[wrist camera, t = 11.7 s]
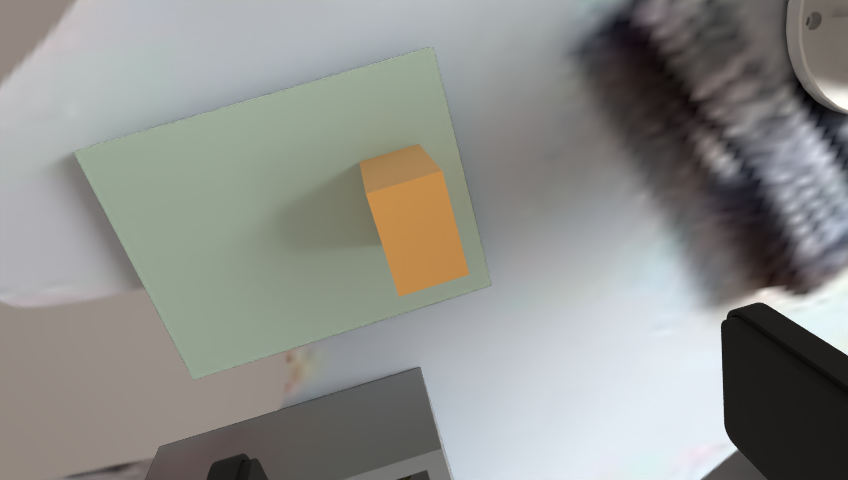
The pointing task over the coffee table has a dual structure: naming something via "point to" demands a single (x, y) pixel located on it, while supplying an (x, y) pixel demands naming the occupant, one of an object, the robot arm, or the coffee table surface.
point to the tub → (327, 438)
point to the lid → (295, 212)
